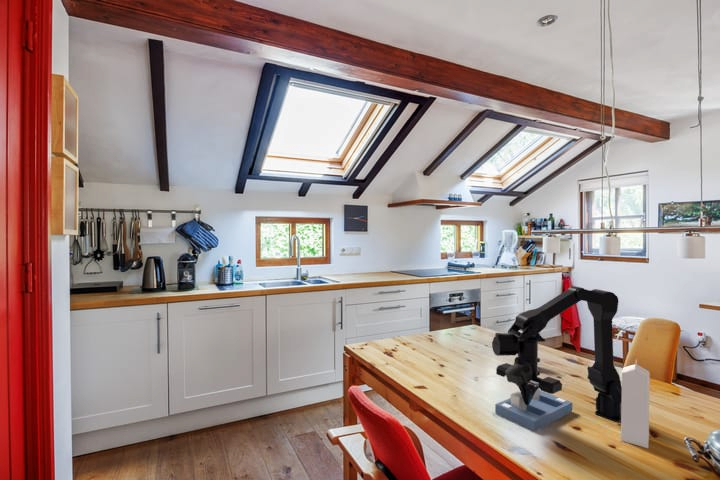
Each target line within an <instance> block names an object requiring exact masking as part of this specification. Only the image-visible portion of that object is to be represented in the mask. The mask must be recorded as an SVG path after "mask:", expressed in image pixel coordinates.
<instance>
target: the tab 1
mask: <svg viewBox="0 0 720 480" xmlns="http://www.w3.org/2000/svg"><path fill="white" fill-rule="evenodd" d="M510 398H511V405H512V406H514V407H516V408H519V409H521V410H523V411H526V408H527V405H525V403H524V400H523V397H522V394H521V392H520V390H518V391H515V392H513V393H511V394H510Z"/></svg>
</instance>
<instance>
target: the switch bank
mask: <svg viewBox="0 0 720 480" xmlns="http://www.w3.org/2000/svg"><path fill="white" fill-rule="evenodd" d="M494 405H495V411H494V413H495V415H498V416H501V417H502V418H505V420H506V419H507V420H508V421H511V422H513V423H515V424H518V425H519V426H522V427H523V428H526V429H528V430H530V431H532V432H536V431H538V430H540V429H541V428H542V429H543V427H547V425H550V424H552V423H553V422H555V421H558V420H559V419H561V418H563V417H565V416H567V415H569V414H571V413H572V412H573V402H572V401H570V400H566V399H564V398H562V397H558V396H555V395H554V394H549V393H547V392H544V391H541V390H540V401H536V400H534V399H532V400H531V402H530V404H529V405H527V408H526V411H523V410H521V409H519V408H516V407H514V406H512V405H511V397H510V398H507V399H504V400H502V401H500V402H497V403H495V404H494Z"/></svg>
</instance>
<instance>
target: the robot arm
mask: <svg viewBox="0 0 720 480" xmlns="http://www.w3.org/2000/svg"><path fill="white" fill-rule="evenodd" d="M581 301H583V302H586V303H587V308H588V311H589V312H590V315H591V316H592V318H593V341H594V342H593V343H594V363H593V364H592V366H587V368H586V369H587V378H586V379H588V380H589V383H590V385H592V387H593V389H594V391H595V392H597V396H596V397H595V410H596V411H595V412H594V414H595V415H598V416H600V417H604V419H605V418H606V419H609V420H611V421H613V422H616V423H619V422H621V408H622V380H621V378H620V374H619V372H618V370H617V369H616V367H615V365H614V343H613V342H614V341H613V339H614V338H613V337H614V336H613V332H614V331H613V319H614V317H615V316H616V314H617V312H618V307H619V297H618V295H616V294H615V293H614V292H612V291H607V290H602V289H598V288H597V289H596V288H595V289H591V290H589V289H586V288H583V287H580V286H576V285H573V286H570V287H568V288H567V289H566V290H565V291H563V292H561V293H560V294H558V295H557V296H555V297H553V298H552V299H551V300H548V301H547V302H545V303H544V304H543V305H541V306H539V307H536V308H532V309H529V310H526V311H523V312H521V313H518V314H517V315H516V316H515V320H514V322H513V324H511V327H509V329H508V331H507V332H506V333H505V332H503V333H501V332H496V333H495V332H494V333H495V334H494V335H495V336H494V337H493V339H492V342H491V346H492V347H491V348H492V351H493V353H494V355H495V356H498V357H499V356H501V357H502V356H503V357H504V356H516V355H517V356H516V357H515V358H514V362H513V364H510V363H507V362H505V363H502V364H499V365H497V366H496V372H495V373H496V375H498V376H500V377H503V378H504V377H506V379H507V383H513V384H515V385H516V386H517V387H518V389H519V392H521V394H522V397H523V400H524V403H525V405H529V404H530V402H531V400H532V398H533V396H534V394H535V392H536V391H537V389H538V388H540V391H543V392H545V393H548V394H551V395H554V394H556V393H558V392H560V391H562V389H563V384H562V382H561V380H560V379H556V378H555V377H554V378H553V377H550V376H546V377H544V378H542V377H539V376H540V374H541V372H540V371H538V365H539V364H538V363H540V362H541V358H540V357H539V355H538V354H539V352H538V351H539V348H538V347H539V346H538V345H539V343H540V342H543V343H544V342H545V341H546V339H545V338H543V337H542V336H541V334H540V333H541V331H543V330H544V329H545V328H547V325H548V323H549V322H550V321H551V320H552V319H554V318H555V317H557V316H559V315H560V314H562V313H563V312H565V311H567V310H568V309H570V308H571V307H573V306H574V305H576V304H578V303H579V302H581Z"/></svg>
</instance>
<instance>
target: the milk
mask: <svg viewBox="0 0 720 480" xmlns="http://www.w3.org/2000/svg"><path fill="white" fill-rule="evenodd" d="M650 375H651V373H650V371H648V370H647V369H645V368H643V367H642V366H641V365H639V364H638V360H637V358H636V359H635V363H634V364H631V365H628V366H625V367H623V369H622V372H621V387H622V408H621V420H620V426H621V427H620V441H621V442H624V443H625V442H626V443H628V444H632V445H635V446H637V447H638V446H639V447H642V448H645V449H649V444H650V380H651V379H650Z"/></svg>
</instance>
